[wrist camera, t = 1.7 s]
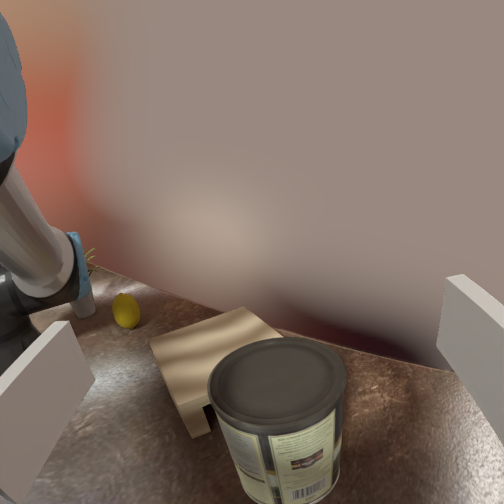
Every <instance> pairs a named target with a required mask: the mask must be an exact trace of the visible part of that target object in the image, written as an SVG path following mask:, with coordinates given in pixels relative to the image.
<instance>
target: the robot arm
mask: <svg viewBox="0 0 504 504" xmlns="http://www.w3.org/2000/svg"><path fill="white" fill-rule="evenodd" d="M21 69H22V67H21V62H20V58H19V54H18V51H17V47H16V43H15V40H14V38H13V35H12V32H11V30H10V28H9V26H8V24H7V22H6V20H5V18H4V17H3V16H2V15H1V13H0V495H2V496H3V497H4V498H5V499H6V500H8V501H10V502H12V503H14V504H23V502H24V500H25V499H26V497H27V495H28V493H29V491H30V489H31V487H32V485H33V484H34V482H35V480H36V478H37V476H38V475H39V473H40V471H41V469H42V467H43V466H44V464H45V462H46V460H47V458H48V457H49V455H50V453H51V452H52V450H53V448H54V446H55V445H56V443H57V441H58V440H59V438H60V436H61V434H62V433H63V431H64V429H65V428H66V426H67V424H68V423H69V421H70V420H71V418H72V416H73V415H74V413H75V411H76V410H77V408H78V406H79V405H80V403H81V402H82V400H83V398H84V397H85V395H86V394H87V392H88V391H89V389H90V387H91V386H92V384H93V383H94V381H95V378H94V376H93V374H92V372H91V370H90V367H89V365H88V363H87V361H86V359H85V357H84V355H83V352H82V350H81V348H80V346H79V343H78V341H77V339H76V336H75V334H74V332H73V329H72V327H71V324H70V322H69V321H55V322H54V323H52V324H51V325H50V326H49V327H48V328H47V329H46V330H45V331H44V332H43V333H42V334H41V333H40V332H39V331H38V330H37V329H36V327H35V326H34V325H33V324H32V322H31V320H30V317H29V314H32V313H36V312H39V311H42V310H45V309H49V308H52V307H55V306H59V305H62V304H65V303H69V302H72V301H78V300H79V299H81V298H83V297H86V296H88V295H89V294H90V292H91V284H90V279H89V275H88V270H87V266H86V261H85V257H84V253H83V248H82V244H81V240H80V237H79V234H78V233H77V232H71V233H70V232H66V233H65V234H64V233H63V232H62V231H60V230H59V229H57V228H55V227H52V226H49V225H48V223H47V222H46V220H45V218H44V217H43V215H42V213H41V212H40V210H39V208H38V207H37V205H36V203H35V201H34V200H33V198H32V196H31V194H30V192H29V191H28V189H27V187H26V185H25V184H24V182H23V180H22V178H21V176H20V174H19V172H18V170H17V168H16V166H15V164H14V162H15V158H16V154H17V149H18V148H19V147H20V146H21V144H22V142H23V140H24V137H25V134H26V127H27V100H26V90H25V84H24V80H23V78H22V75H21ZM436 346H437V348H438V349H439V350H440V352H441V353H442V354H443V356H444V357H445V359H446V360H447V361H448V363H449V364H450V365H451V367H452V368H453V370H454V371H455V373H456V374H457V375H458V377H459V378H460V380H461V381H462V383H463V384H464V385H465V387H466V388H467V390H468V391H469V393H470V394H471V396H472V397H473V399H474V400H475V402H476V403H477V405H478V406H479V408H480V409H481V411H482V412H483V414H484V415H485V417H486V418H487V420H488V422H489V423H490V425H491V426H492V428H493V430H494V431H495V433H496V434H497V436H498V438H499V439H500V441H501V443H502V444H503V446H504V306H503V305H502V304H501V303H500V302H499V301H497V300H496V299H495V298H494V297H492V296H491V295H490V294H489V293H487V292H486V291H485V290H483V289H482V288H481V287H479V286H478V285H477V284H476V283H474V282H473V281H472V280H471V279H469V278H468V277H467V276H465V275H464V274H460V275H456V276H451V277H446V278H445V288H444V298H443V306H442V313H441V320H440V327H439V333H438V339H437V344H436Z"/></svg>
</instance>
